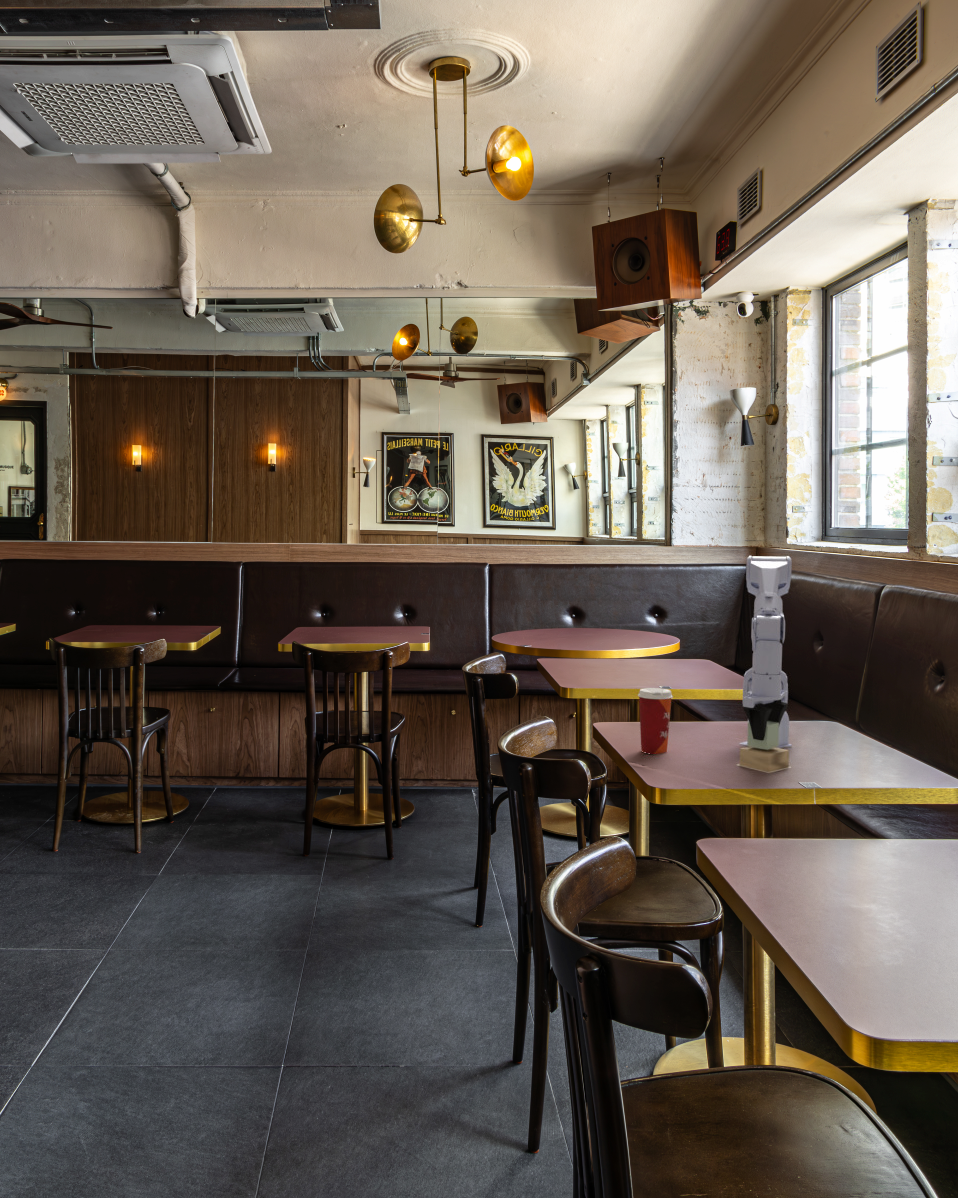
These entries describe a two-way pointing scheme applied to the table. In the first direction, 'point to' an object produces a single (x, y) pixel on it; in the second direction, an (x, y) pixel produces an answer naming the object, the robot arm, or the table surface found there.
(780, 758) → the oak base
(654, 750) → the paper cup
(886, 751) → the table surface
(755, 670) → the robot arm
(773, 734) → the sage block
